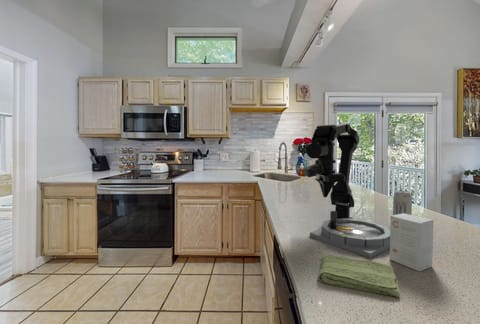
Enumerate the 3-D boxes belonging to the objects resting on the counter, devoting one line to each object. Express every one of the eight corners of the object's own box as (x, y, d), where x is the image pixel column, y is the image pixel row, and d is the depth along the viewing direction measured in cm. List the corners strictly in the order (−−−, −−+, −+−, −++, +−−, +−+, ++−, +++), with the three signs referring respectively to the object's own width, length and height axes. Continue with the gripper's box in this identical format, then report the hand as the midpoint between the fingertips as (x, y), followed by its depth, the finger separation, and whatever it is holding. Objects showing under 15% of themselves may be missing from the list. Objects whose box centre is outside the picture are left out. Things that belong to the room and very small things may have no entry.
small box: (432, 266, 66) (434, 219, 66) (419, 272, 64) (421, 223, 63) (401, 255, 74) (403, 212, 73) (388, 259, 71) (389, 215, 70)
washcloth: (403, 302, 52) (403, 288, 52) (317, 285, 59) (317, 272, 59) (392, 273, 64) (392, 261, 64) (321, 261, 71) (321, 250, 71)
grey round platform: (343, 224, 102) (344, 214, 102) (402, 240, 84) (403, 228, 84) (309, 236, 90) (309, 224, 89) (370, 258, 72) (370, 244, 71)
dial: (379, 229, 91) (379, 210, 91) (384, 246, 76) (385, 223, 75) (331, 224, 98) (332, 206, 97) (328, 238, 83) (328, 217, 82)
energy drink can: (390, 230, 95) (392, 192, 94) (394, 226, 100) (395, 189, 99) (409, 233, 91) (410, 194, 90) (412, 229, 96) (413, 191, 95)
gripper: (296, 156, 103) (296, 193, 104) (316, 159, 85) (315, 203, 85) (321, 156, 104) (321, 192, 105) (346, 158, 86) (345, 202, 87)
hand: (325, 197), depth 96 cm, fingers closed
